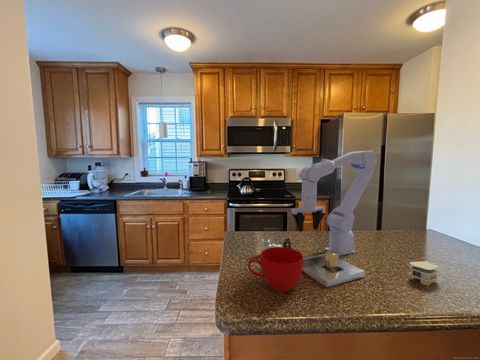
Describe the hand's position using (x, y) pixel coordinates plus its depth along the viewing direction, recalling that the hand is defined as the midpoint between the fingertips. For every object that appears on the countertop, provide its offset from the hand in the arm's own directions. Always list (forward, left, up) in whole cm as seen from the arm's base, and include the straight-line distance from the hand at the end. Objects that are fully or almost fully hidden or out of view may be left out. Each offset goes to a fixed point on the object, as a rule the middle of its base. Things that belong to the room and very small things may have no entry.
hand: (307, 230), depth 96 cm
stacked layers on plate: (-20, +31, -11) cm, 39 cm away
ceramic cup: (+24, +15, -11) cm, 31 cm away
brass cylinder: (+2, +16, -10) cm, 19 cm away
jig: (+2, +16, -10) cm, 19 cm away
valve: (+12, -6, -11) cm, 17 cm away
